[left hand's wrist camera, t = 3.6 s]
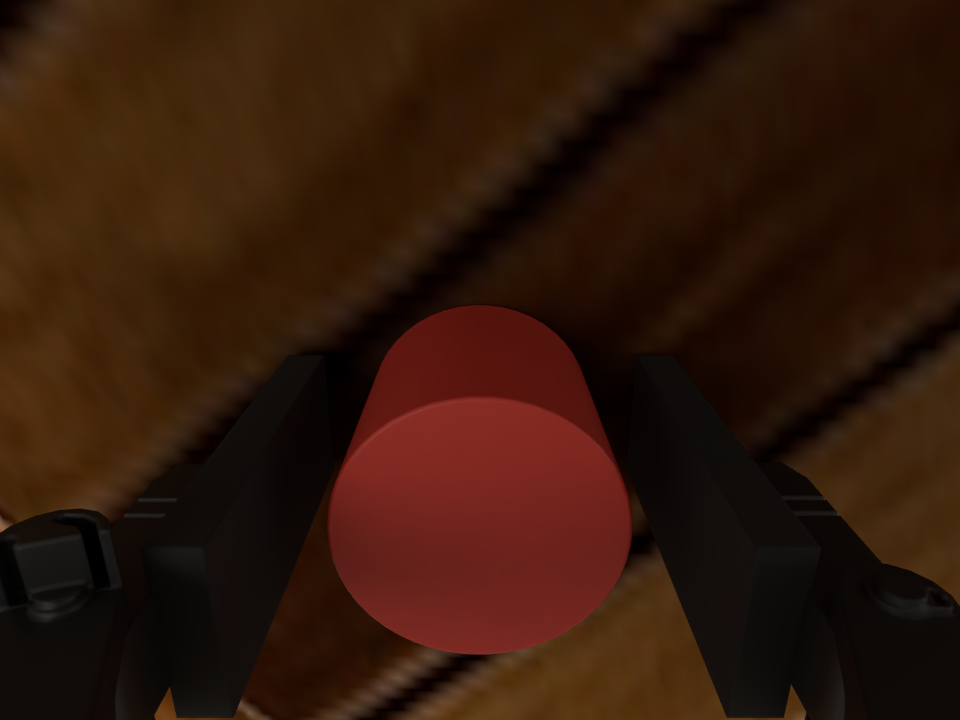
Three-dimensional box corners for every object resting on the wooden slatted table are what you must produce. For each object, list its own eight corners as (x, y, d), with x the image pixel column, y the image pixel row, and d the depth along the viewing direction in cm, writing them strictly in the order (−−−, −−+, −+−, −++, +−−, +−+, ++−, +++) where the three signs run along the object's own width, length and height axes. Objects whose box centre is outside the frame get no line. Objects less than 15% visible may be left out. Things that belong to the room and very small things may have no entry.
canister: (384, 503, 15) (346, 661, 11) (360, 310, 14) (305, 405, 9) (586, 494, 15) (629, 650, 11) (587, 298, 14) (638, 389, 9)
